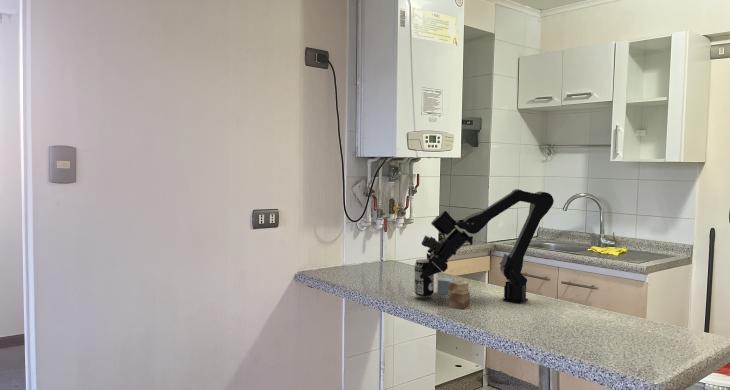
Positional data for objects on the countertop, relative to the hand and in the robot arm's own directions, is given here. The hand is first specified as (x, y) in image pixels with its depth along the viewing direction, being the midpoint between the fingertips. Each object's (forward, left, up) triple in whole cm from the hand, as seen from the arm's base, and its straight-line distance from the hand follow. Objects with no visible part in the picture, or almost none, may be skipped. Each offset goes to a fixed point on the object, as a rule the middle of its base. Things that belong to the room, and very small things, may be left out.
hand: (420, 275), depth 183 cm
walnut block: (-16, -1, -8) cm, 18 cm away
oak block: (-8, -13, -8) cm, 17 cm away
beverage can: (-1, -1, -7) cm, 7 cm away
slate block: (-2, -14, -8) cm, 16 cm away
